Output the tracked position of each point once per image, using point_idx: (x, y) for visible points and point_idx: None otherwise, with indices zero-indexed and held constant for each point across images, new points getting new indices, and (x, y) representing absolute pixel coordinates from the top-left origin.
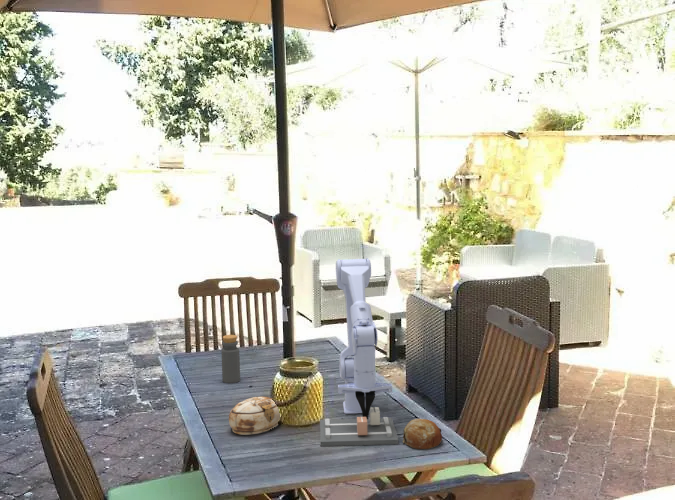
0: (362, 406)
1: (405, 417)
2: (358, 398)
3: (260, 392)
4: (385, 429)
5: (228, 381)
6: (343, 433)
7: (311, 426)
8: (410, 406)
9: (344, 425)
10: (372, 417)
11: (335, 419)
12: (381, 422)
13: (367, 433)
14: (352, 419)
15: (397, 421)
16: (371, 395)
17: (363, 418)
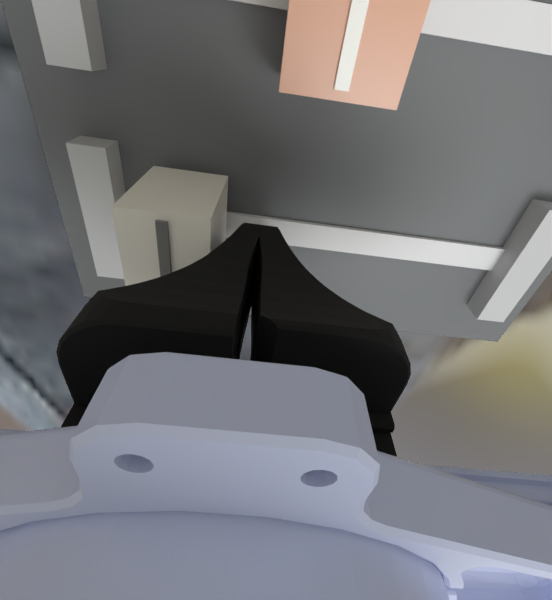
0: (291, 274)
1: (29, 322)
2: (375, 326)
3: None
4: (108, 79)
5: None
6: (509, 36)
7: (547, 305)
8: (33, 413)
9: (406, 234)
10: (201, 197)
11: (416, 329)
12: None
13: None
14: None
15: (64, 282)
16: (125, 339)
17: (332, 12)
